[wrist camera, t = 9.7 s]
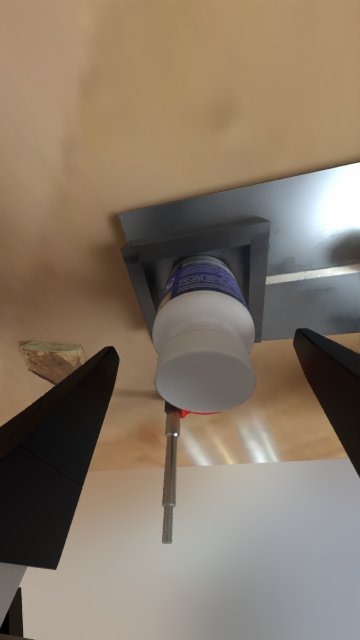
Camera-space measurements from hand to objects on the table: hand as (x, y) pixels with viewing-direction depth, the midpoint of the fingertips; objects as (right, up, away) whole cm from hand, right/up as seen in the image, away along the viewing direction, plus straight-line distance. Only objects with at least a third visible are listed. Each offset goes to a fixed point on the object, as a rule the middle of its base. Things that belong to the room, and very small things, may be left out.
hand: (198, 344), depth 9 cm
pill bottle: (+1, +4, +5) cm, 7 cm away
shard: (-14, -4, +14) cm, 20 cm away
